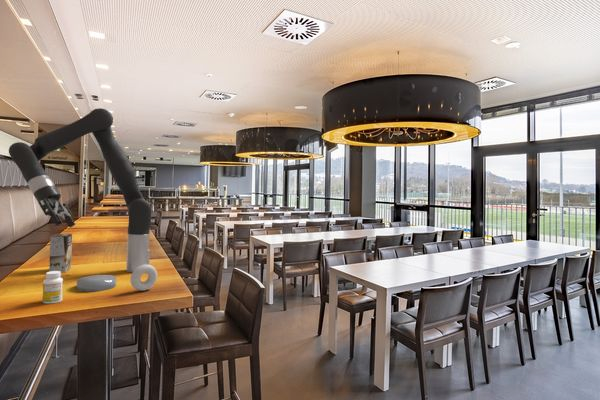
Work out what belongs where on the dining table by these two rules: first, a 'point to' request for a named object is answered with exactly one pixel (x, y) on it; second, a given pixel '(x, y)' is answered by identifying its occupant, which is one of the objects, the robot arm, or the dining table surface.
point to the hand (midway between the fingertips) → (66, 225)
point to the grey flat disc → (96, 283)
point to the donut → (137, 274)
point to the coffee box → (60, 252)
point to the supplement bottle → (52, 287)
